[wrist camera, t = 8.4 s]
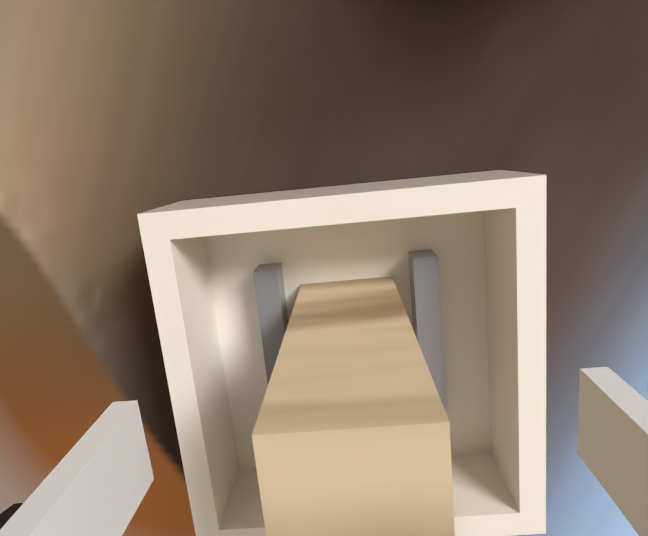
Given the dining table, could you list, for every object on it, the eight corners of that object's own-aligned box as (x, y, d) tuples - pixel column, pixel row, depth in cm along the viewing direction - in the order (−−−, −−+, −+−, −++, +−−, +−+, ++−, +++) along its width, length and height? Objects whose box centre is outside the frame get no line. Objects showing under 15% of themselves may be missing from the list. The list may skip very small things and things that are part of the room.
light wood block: (301, 284, 22) (251, 435, 10) (392, 276, 22) (449, 422, 10) (315, 407, 23) (285, 668, 11) (401, 401, 23) (460, 661, 11)
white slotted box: (182, 200, 22) (137, 213, 17) (500, 170, 21) (546, 174, 16) (226, 475, 25) (198, 551, 20) (505, 457, 24) (545, 533, 20)
